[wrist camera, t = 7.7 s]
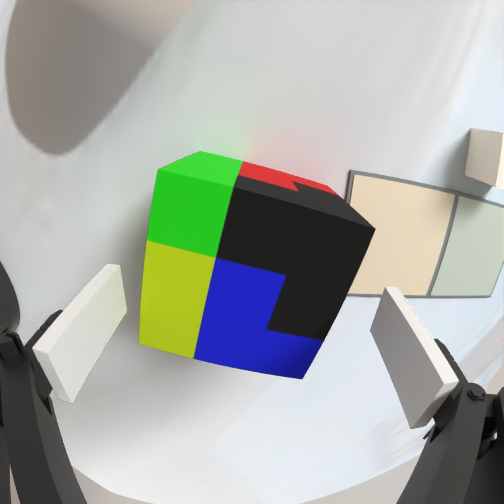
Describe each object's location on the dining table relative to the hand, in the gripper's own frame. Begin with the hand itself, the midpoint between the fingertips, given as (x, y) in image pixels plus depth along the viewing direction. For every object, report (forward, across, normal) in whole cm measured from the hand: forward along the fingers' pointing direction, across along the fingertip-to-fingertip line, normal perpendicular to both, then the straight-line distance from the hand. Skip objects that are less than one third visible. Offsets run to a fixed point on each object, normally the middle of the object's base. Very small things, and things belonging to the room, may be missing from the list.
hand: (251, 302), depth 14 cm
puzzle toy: (+11, -1, 0) cm, 11 cm away
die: (+11, +21, +10) cm, 25 cm away
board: (+11, +18, 0) cm, 21 cm away
